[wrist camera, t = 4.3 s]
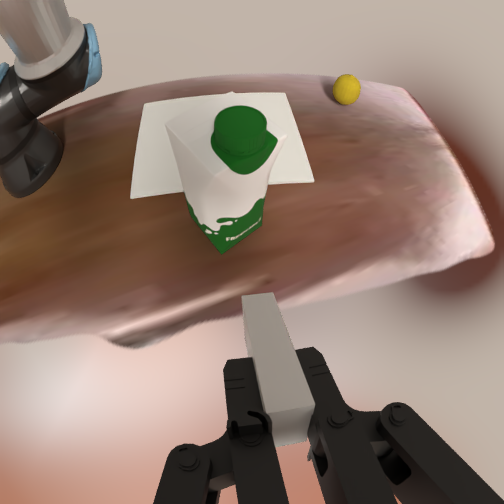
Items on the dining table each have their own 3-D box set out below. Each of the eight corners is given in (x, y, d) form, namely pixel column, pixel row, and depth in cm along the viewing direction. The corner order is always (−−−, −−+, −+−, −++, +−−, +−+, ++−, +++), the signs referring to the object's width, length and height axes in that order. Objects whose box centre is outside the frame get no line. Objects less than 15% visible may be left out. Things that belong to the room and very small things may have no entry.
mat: (144, 105, 46) (144, 103, 46) (284, 94, 49) (284, 92, 49) (131, 198, 39) (130, 197, 38) (313, 182, 42) (314, 180, 41)
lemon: (353, 115, 49) (365, 86, 42) (327, 106, 49) (338, 76, 42) (353, 101, 51) (365, 74, 44) (329, 93, 51) (339, 64, 44)
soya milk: (220, 264, 36) (210, 167, 17) (181, 215, 38) (149, 104, 20) (271, 226, 38) (303, 117, 20) (231, 183, 41) (233, 68, 22)
